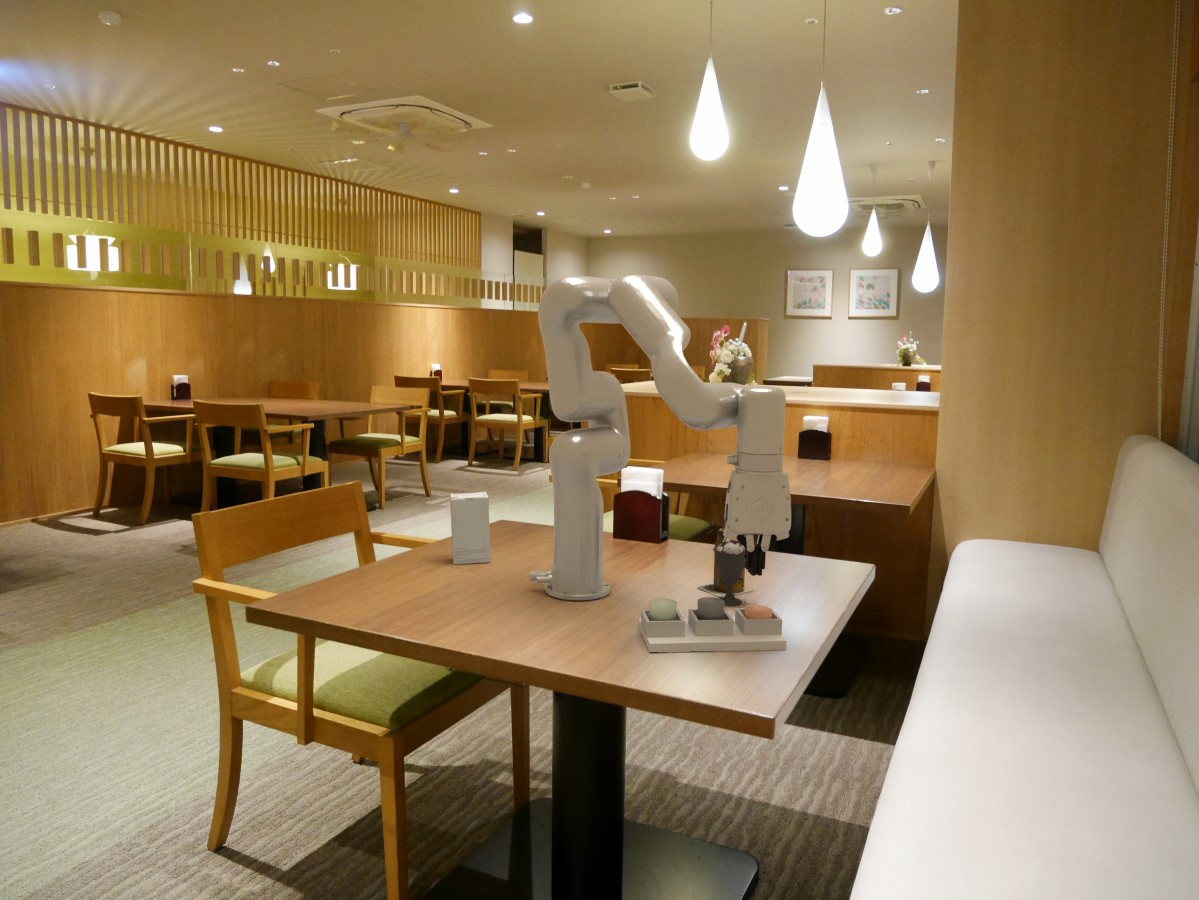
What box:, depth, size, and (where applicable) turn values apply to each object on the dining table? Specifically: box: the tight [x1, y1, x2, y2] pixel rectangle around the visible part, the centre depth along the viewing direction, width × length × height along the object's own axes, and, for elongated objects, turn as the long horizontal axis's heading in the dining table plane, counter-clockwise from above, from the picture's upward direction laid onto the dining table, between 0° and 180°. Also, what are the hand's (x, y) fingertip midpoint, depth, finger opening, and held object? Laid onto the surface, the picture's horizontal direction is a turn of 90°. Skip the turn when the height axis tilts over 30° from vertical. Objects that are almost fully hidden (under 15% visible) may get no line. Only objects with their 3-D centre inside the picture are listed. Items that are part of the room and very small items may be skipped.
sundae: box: [712, 537, 745, 607], centre depth 160 cm, size 7×7×15 cm
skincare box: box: [449, 491, 492, 566], centre depth 187 cm, size 8×6×15 cm
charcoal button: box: [696, 596, 726, 620], centre depth 141 cm, size 4×4×3 cm
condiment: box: [697, 527, 754, 598], centre depth 169 cm, size 7×8×12 cm
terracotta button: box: [744, 604, 773, 619], centre depth 142 cm, size 4×4×3 cm
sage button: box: [648, 597, 677, 621], centre depth 140 cm, size 4×4×3 cm
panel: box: [638, 607, 788, 653], centre depth 142 cm, size 22×12×4 cm, turn 95°
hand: (754, 573), depth 141 cm, fingers closed
